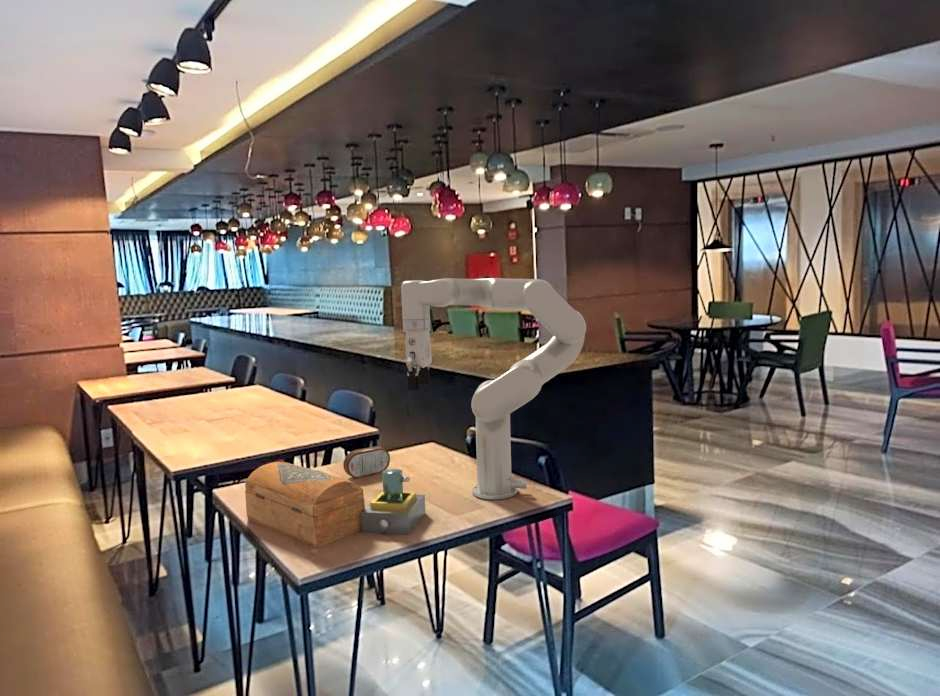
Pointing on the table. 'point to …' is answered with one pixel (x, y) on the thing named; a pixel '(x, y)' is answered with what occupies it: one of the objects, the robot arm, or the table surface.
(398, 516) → the grey yellow box
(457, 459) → the table surface
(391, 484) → the spout can
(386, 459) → the tin
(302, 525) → the wooden box
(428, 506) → the table surface
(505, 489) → the robot arm
